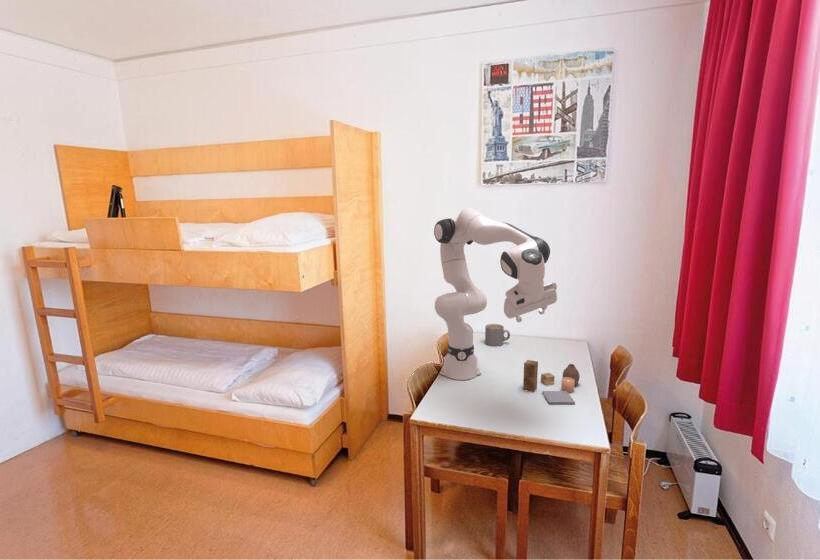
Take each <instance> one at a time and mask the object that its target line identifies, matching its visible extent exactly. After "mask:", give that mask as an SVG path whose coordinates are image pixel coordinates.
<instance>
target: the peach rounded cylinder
mask: <svg viewBox="0 0 820 560" xmlns="http://www.w3.org/2000/svg"><path fill="white" fill-rule="evenodd" d="M574 383H575V380H574V379H573V378H570V377H563V376H562V378H561V386H560V387H561V388H560V389H561V390H560V391H567V392H568V394H573V393H575V386H574Z"/></svg>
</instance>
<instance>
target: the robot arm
mask: <svg viewBox="0 0 820 560" xmlns="http://www.w3.org/2000/svg"><path fill="white" fill-rule="evenodd" d="M433 235H434V238H435V239H436V242H438V243H440V249H439V250H440V261H441V268H442V273H443V278H444V280H445V282H446V283H448V284H450V285H452V287H453V288H454V289H455V291H454V292H447V293H444V294H442V295H439V296H437V297H436V299H435V302H434V309H435V310H434V311H435V313H436V314H437V316H439V317H440V318H441V319H442V320H443V321H444V322H445V324H446V326H447V333H448V344H447V354H446V355H445V356H443V358H442V359H443V360H442V361H443V364H442V366H441V369H440V372H439V374H440V375H442V376H445V377H448V378H450V379H453V380H456V381H457V380H459V381H466V380H467V381H468V380H471V379H472V380H473V379H475V378H476V377H477V376H481V375H482V371H481V370H480V369H479V367H478V357H477V356H476V354H475V345H474V329H473V327H472V326H471V325H470V324H468V323H467V322H465V319H464V317H465V316H468V315H469V316H470V315H474V314H478V313H480V312H482V311H484V310H485V309H486V307H487V303H488V300H487V297H486V294H485V293H484V291H482V290H480V289H479V288H478V287H477V286H476V285H475V284H474V283H473V281H472V279H471V277H470V273H469V270H468V269H469V268H468V266H467V265H468V263H467V259H466V255H465V249H464V248H465V245H469V246H470V245H471V244H472V243H476V244H477V245H482V246H487V245H491V244H495V243H496V244H497V243H502V242H509V243H513V244H514V245H516V246H512V247H510V248H508V249H505V251H502V253H501V255H500V268H501V270H502V271H503V273H504V274H505V275H507V276H509V277H510V278H512V279H515V280H517V281H518V282H517V283H516V285H514V286H513V287H511V288H510V289H508V290H506V292H505V296H506V298H505V299H504V302H503V313H504V316H506V318H508V319H510V320H511V319H513V318H515V320H516V322H517V323H521V322H522V321H523V319H522V317H521V315H525V314H527V313H530V312H534V311H536V310H538V314H540V315H543V314H545V311H546V309H547V308H548V306H551V305H553V304H555V303H556V302H557V301H558V295H557V287H558V285H557V283H555V282H549V283H548V284H547V283H546V284H545V282H544V279H545V274H546V273H545V271H546V270H545V269H546V268H545V267H546V266H545V264H546V263H547V262H548V260H549V258H550V255H551V248H550V246H549V244H548V242H546V241H545V240H544V239H542V238H541V237H537V236H534V235H531V234H529V233H527V232H526V231H524V230H522V229H520V228H519V227H516V226H515V225H512V224H510V223H508V222H503V221H499V220H495V219H493V218H490V217H488V216H487V214H485V213H483V212H481V211H480V210H478V209H476V208H473V207H466V208H463V209H461V211H460V212H459V214H458V216H457V217H454V218H444V219H440V220H438V221H437V222H436V223H435V225H434V228H433Z"/></svg>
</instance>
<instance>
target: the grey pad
mask: <svg viewBox="0 0 820 560" xmlns="http://www.w3.org/2000/svg"><path fill="white" fill-rule="evenodd" d="M541 394H542V395H544V396H543V397H544V399H545V400H546V401H547V403H548V405H551V406H554V405H555V406H557V405H559V406H560V405H566V406H567V405H571V406H572V405H576V402H575V400H574V398H573V397H572V395H570V393H568V392H567V391H562V390H542V391H541Z"/></svg>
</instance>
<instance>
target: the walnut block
mask: <svg viewBox="0 0 820 560" xmlns="http://www.w3.org/2000/svg"><path fill="white" fill-rule="evenodd" d="M538 367H539V362H538V361H536V360H531V359H527V360H526V361H525V362H524V363H523V378H522V379H523V383H522V391H525V390H527V392H530V391H531V393H534V392H536V390H537V389H538V374H539V373H538V371H539V368H538Z"/></svg>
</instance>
